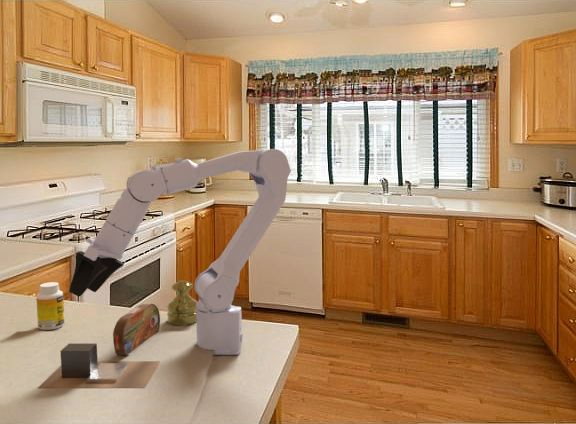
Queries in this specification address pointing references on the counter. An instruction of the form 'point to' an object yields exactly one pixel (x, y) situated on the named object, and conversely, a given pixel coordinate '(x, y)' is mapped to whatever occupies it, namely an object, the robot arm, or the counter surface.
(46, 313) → the supplement bottle
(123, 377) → the board
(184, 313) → the green vase
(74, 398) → the counter surface
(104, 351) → the counter surface
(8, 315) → the counter surface
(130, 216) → the robot arm
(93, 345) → the grey pillar on tile
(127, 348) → the tin
